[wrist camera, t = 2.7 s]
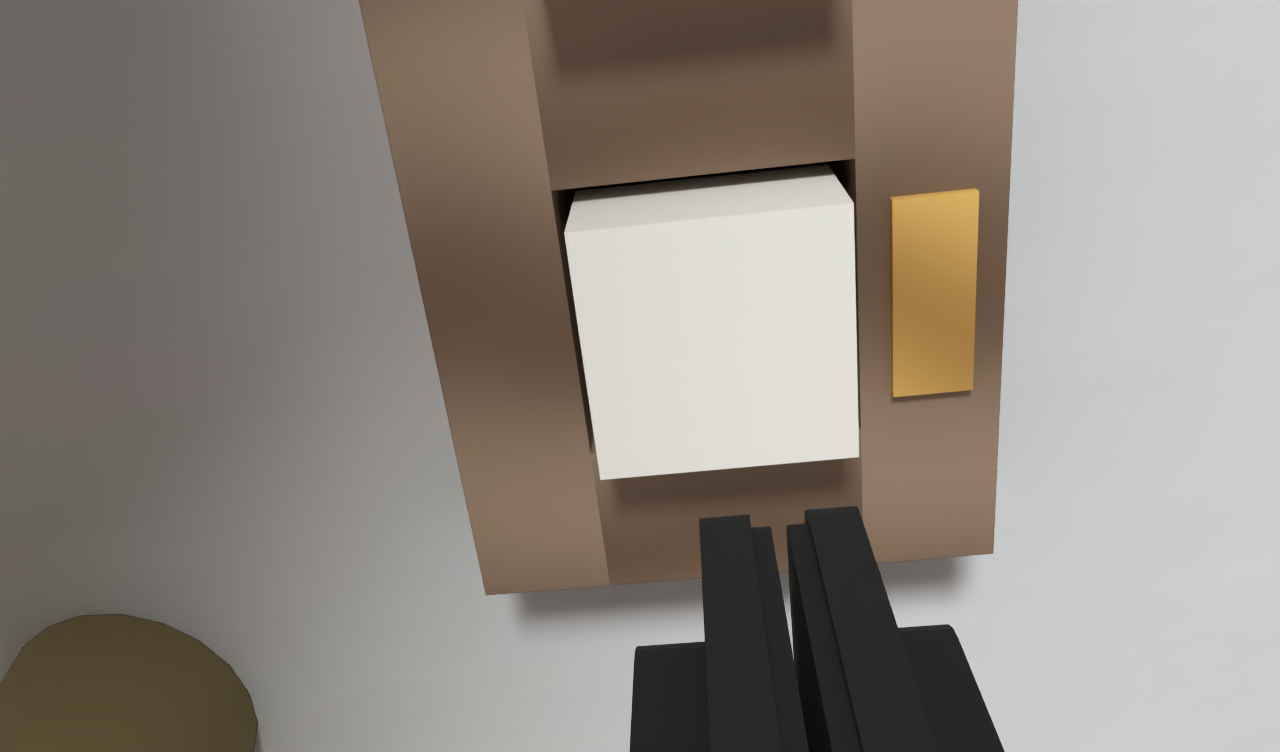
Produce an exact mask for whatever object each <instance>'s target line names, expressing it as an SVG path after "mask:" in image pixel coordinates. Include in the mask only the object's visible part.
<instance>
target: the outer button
mask: <svg viewBox="0 0 1280 752" xmlns="http://www.w3.org/2000/svg"><path fill="white" fill-rule="evenodd" d="M564 235H565V242H566V249H567V256H568V263H569V269H570V276H571V283H572V290H573V297H574V304H575V310H576V317H577V324H578V331H579V338H580V344H581V351H582V358H583V365H584V372H585V379H586V385H587V392H588V399H589V406H590V413H591V419H592V426H593V433H594V440H595V447H596V454H597V460H598V467H599V474H600V480H606V479H617V478H629V477H640V476H651V475H663V474H674V473H685V472H697V471H708V470H719V469H730V468H742V467H753V466H764V465H776V464H787V463H798V462H810V461H821V460H832V459H844V458H855V457H859V426H858V380H857V333H856V286H855V239H854V203H853V201H852V200H851V198H850V197H849V195H848V194H847V192H846V191H845V189H844V188H843V186H842V185H841V183H840V182H839V180H838V179H837V177H836V176H835V174H834V173H833V172H832V170H831V169H830V167H829V166H828V165H819V166H809V167H800V168H790V169H781V170H771V171H762V172H752V173H743V174H733V175H724V176H714V177H705V178H695V179H686V180H677V181H667V182H658V183H648V184H639V185H629V186H620V187H610V188H601V189H591V190H582V191H576V192H575V196H574V199H573V203H572V206H571V210H570V214H569V217H568V221H567V224H566V228H565V232H564Z"/></svg>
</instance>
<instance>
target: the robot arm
mask: <svg viewBox="0 0 1280 752" xmlns="http://www.w3.org/2000/svg"><path fill="white" fill-rule="evenodd" d="M804 520H805V523H802V524H789V525H787V526H786V535H787V553H788V569H789V586H790V602H791V619H792V635H793V652H794V660H793V654H792V648H791V642H790V636H789V630H788V625H787V619H786V613H785V607H784V601H783V595H782V589H781V583H780V578H779V572H778V566H777V560H776V554H775V548H774V542H773V536H772V530H771V526H763V527H751V523H750V516H749V514H743V515H731V516H718V517H706V518H699V530H700V550H701V570H702V591H703V611H704V631H705V642H693V643H679V644H665V645H651V646H637V647H636V650H635V659H634V677H633V697H632V717H631V737H630V752H1004V749H1003V747H1002V744H1001V742H1000V739H999V737H998V735H997V732H996V730H995V727H994V725H993V722H992V720H991V717H990V715H989V713H988V710H987V708H986V705H985V703H984V700H983V698H982V695H981V693H980V691H979V688H978V686H977V683H976V681H975V678H974V676H973V673H972V671H971V669H970V666H969V664H968V661H967V659H966V656H965V654H964V651H963V649H962V647H961V644H960V642H959V639H958V637H957V635H956V633H955V631H954V629H953V628H952V627H951V626H950V625H948V624H947V625H933V626H919V627H905V628H898V627H897V624H896V621H895V618H894V615H893V612H892V609H891V606H890V602H889V599H888V596H887V593H886V590H885V587H884V584H883V581H882V578H881V575H880V572H879V569H878V566H877V563H876V560H875V557H874V554H873V551H872V548H871V545H870V542H869V538H868V535H867V532H866V529H865V526H864V523H863V520H862V517H861V514H860V511H859V509H858V507H857V506H844V507H832V508H819V509H806V510H805V517H804Z"/></svg>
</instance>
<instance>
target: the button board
mask: <svg viewBox="0 0 1280 752" xmlns="http://www.w3.org/2000/svg"><path fill="white" fill-rule="evenodd" d="M359 4H360V9H361V13H362V18H363V23H364V27H365V32H366V37H367V41H368V46H369V51H370V55H371V60H372V65H373V69H374V74H375V79H376V83H377V88H378V93H379V98H380V102H381V107H382V112H383V116H384V121H385V126H386V130H387V135H388V140H389V144H390V149H391V154H392V158H393V163H394V168H395V172H396V177H397V182H398V186H399V191H400V196H401V200H402V205H403V210H404V214H405V219H406V224H407V228H408V233H409V238H410V242H411V247H412V252H413V256H414V261H415V266H416V271H417V275H418V280H419V285H420V289H421V294H422V299H423V303H424V308H425V313H426V317H427V322H428V327H429V331H430V336H431V341H432V345H433V350H434V355H435V359H436V364H437V369H438V373H439V378H440V383H441V387H442V392H443V397H444V401H445V406H446V411H447V415H448V420H449V425H450V429H451V434H452V439H453V444H454V448H455V453H456V458H457V462H458V467H459V472H460V476H461V481H462V486H463V490H464V495H465V500H466V504H467V509H468V514H469V518H470V523H471V528H472V532H473V537H474V542H475V546H476V551H477V556H478V560H479V565H480V570H481V574H482V579H483V584H484V588H485V593H486V595H496V594H508V593H520V592H533V591H545V590H557V589H569V588H581V587H593V586H605V585H618V584H630V583H642V582H654V581H666V580H678V579H690V578H702V570H701V550H700V530H699V518H706V517H718V516H731V515H743V514H749V516H750V523H751V527H763V526H771V530H772V536H773V542H774V548H775V554H776V560H777V566H778V571H788V570H789V569H788V553H787V535H786V526H787V525H789V524H802V523H805V520H804V517H805V510H806V509H819V508H832V507H844V506H857V507H858V509H859V511H860V514H861V517H862V520H863V523H864V526H865V529H866V532H867V535H868V538H869V542H870V545H871V548H872V551H873V554H874V557H875V560H876V563H885V562H897V561H909V560H921V559H933V558H946V557H958V556H970V555H982V554H993V547H994V525H995V503H996V480H997V458H998V436H999V413H1000V391H1001V369H1002V346H1003V324H1004V302H1005V280H1006V257H1007V235H1008V213H1009V190H1010V168H1011V146H1012V123H1013V101H1014V79H1015V57H1016V34H1017V12H1018V0H359ZM828 161H832V172H833V173H834V174H835V176H836V177H837V179H838V180H839V182H840V183H841V185H842V186H843V188H844V189H845V191H846V192H847V194H848V195H849V197H850V198H851V200H852V201H853V203H854V239H855V286H856V333H857V380H858V426H859V457H855V458H844V459H832V460H821V461H810V462H798V463H787V464H776V465H764V466H753V467H742V468H730V469H719V470H708V471H697V472H685V473H674V474H663V475H651V476H640V477H629V478H617V479H606V480H600V474H599V467H598V460H597V454H596V447H595V440H594V433H593V426H592V419H591V413H590V406H589V399H588V392H587V385H586V379H585V372H584V365H583V358H582V351H581V344H580V338H579V331H578V324H577V317H576V310H575V304H574V297H573V290H572V283H571V276H570V269H569V263H568V256H567V249H566V242H565V235H564V232H565V228H566V224H567V221H568V217H569V214H570V210H571V206H570V199H569V192H568V189H572V188H581V187H591V186H600V185H610V184H619V183H629V182H638V181H648V180H657V179H667V178H676V177H686V176H695V175H705V174H714V173H723V172H733V171H742V170H752V169H761V168H771V167H780V166H790V165H799V164H809V163H818V162H828Z"/></svg>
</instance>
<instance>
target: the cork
mask: <svg viewBox="0 0 1280 752" xmlns="http://www.w3.org/2000/svg"><path fill="white" fill-rule="evenodd" d="M257 724H258V723H257V719H256V716H255V712H254V709H253V705H252V701H251V698H250V694H249V693H248V691H247V690H246V688H245V687H244V686H243V684H242V683H241V681H240V680H239V678H238V677H237V676H236V674H235V673H234V671H233V670H232V668H231V667H230V666H229V665H228V664H227V663H226V662H225V661H223V660H222V659H221V658H220V657H218V656H217V655H216V654H215V653H213V652H212V651H211V650H210V649H209V648H207V647H206V646H205V645H204V644H202V643H201V642H200V641H198V640H196V639H194V638H192V637H190V636H188V635H186V634H183V633H181V632H179V631H177V630H175V629H173V628H171V627H169V626H166V625H164V624H162V623H158V622H154V621H149V620H144V619H140V618H135V617H130V616H125V615H121V614H120V615H92V616H79V617H76V618H73V619H70V620H67V621H64V622H61V623H58V624H55V625H52V626H49V627H47V628H46V629H45V630H43V631H42V632H41V633H40V634H38V635H37V636H36V637H35V638H33V639H32V640H31V641H30V642H28V643H27V644H26V645H25V646H24V647H23V648H22V649H21V651H20V653H19V654H18V656H17V658H16V659H15V661H14V662H13V664H12V666H11V667H10V669H9V671H8V672H7V674H6V676H5V677H4V679H3V680H2V682H1V684H0V752H253V751H254V745H255V738H256V731H257Z"/></svg>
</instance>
